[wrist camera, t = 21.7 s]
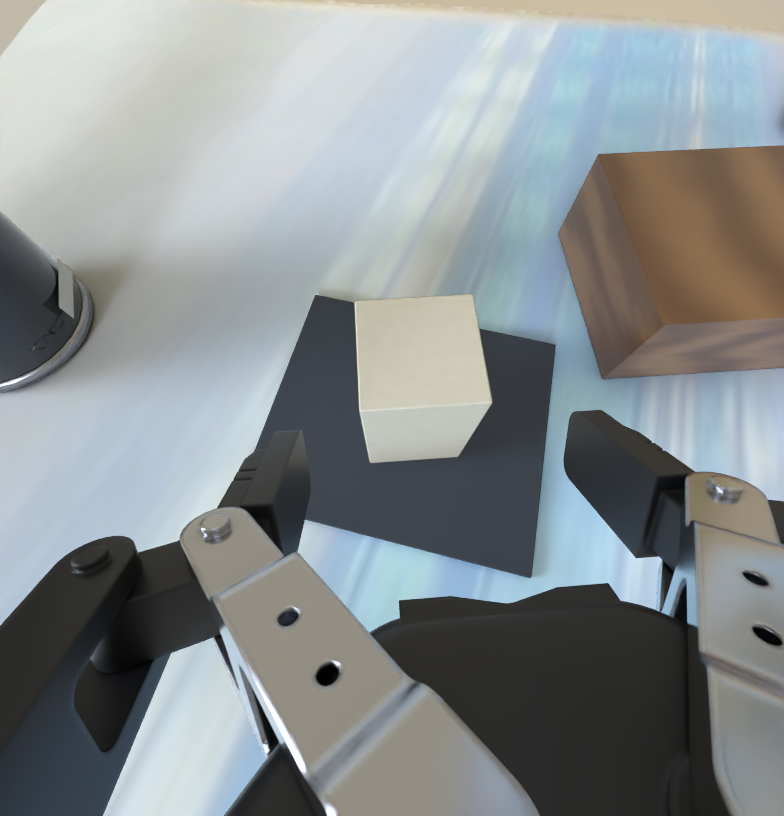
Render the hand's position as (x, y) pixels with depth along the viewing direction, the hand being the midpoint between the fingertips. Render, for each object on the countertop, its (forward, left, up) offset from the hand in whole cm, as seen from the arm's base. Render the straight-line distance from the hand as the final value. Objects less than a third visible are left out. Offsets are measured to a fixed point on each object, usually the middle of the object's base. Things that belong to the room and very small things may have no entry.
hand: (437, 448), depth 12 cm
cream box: (-1, +4, -10) cm, 11 cm away
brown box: (+14, +18, -10) cm, 24 cm away
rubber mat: (-1, +5, -10) cm, 12 cm away
